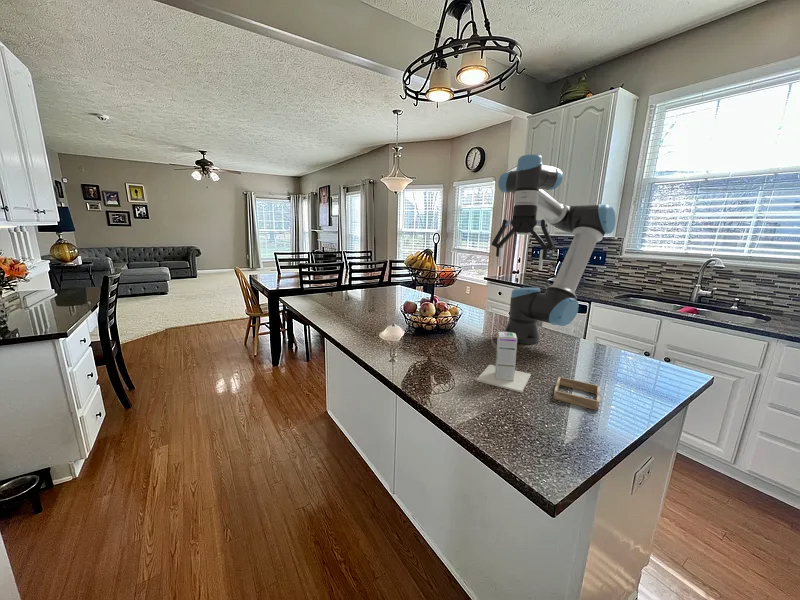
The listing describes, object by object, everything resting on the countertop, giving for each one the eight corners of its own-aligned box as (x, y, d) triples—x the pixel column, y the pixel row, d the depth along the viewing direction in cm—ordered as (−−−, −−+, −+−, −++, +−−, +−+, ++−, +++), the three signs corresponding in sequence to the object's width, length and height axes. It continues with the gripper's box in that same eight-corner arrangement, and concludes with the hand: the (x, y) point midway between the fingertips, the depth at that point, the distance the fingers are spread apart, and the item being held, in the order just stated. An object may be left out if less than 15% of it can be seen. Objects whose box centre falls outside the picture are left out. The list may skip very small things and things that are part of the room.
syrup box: (514, 381, 103) (518, 337, 100) (495, 379, 105) (498, 336, 101) (512, 373, 109) (516, 332, 106) (494, 371, 110) (497, 330, 107)
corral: (557, 383, 104) (558, 376, 103) (598, 393, 98) (599, 385, 97) (553, 398, 94) (554, 390, 94) (598, 410, 88) (599, 401, 88)
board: (489, 366, 116) (489, 364, 116) (530, 375, 109) (530, 374, 109) (476, 381, 104) (476, 379, 104) (521, 392, 97) (522, 391, 97)
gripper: (485, 204, 113) (481, 265, 118) (565, 203, 100) (557, 271, 105) (491, 206, 119) (487, 264, 124) (567, 204, 107) (559, 269, 111)
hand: (519, 267), depth 114 cm, fingers open, 13 cm apart
